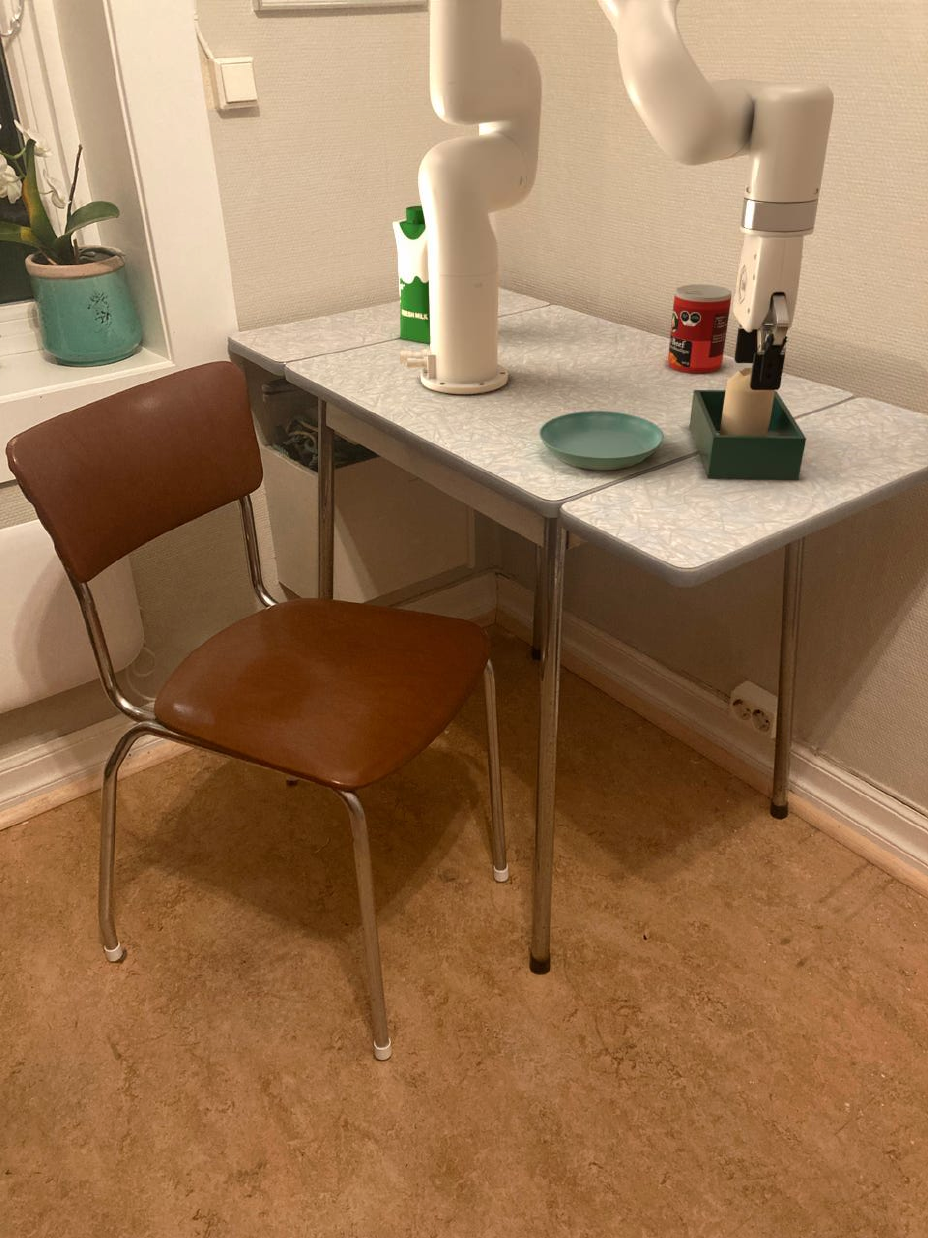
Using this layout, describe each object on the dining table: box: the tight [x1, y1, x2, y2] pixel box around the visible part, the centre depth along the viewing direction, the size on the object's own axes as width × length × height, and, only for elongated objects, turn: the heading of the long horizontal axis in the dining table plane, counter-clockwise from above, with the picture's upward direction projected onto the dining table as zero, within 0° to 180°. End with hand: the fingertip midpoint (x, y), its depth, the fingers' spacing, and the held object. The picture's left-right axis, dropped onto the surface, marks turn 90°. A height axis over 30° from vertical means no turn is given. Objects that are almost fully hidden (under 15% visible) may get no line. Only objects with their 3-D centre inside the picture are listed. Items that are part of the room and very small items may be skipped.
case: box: [688, 389, 807, 481], centre depth 115 cm, size 10×16×5 cm, turn 176°
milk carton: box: [392, 205, 431, 345], centre depth 153 cm, size 9×9×20 cm
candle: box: [719, 367, 776, 436], centre depth 113 cm, size 6×6×10 cm
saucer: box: [538, 410, 664, 471], centre depth 115 cm, size 15×15×3 cm
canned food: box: [667, 283, 732, 374], centre depth 141 cm, size 8×8×11 cm
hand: (755, 375), depth 111 cm, fingers open, 9 cm apart
